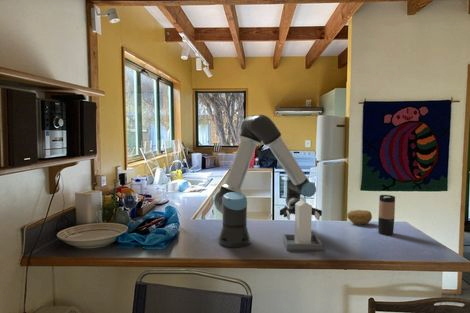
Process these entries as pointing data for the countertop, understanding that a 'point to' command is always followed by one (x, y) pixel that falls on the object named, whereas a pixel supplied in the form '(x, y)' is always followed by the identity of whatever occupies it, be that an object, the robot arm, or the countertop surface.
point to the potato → (359, 216)
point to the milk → (303, 222)
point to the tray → (292, 246)
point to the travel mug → (386, 214)
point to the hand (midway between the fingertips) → (303, 217)
